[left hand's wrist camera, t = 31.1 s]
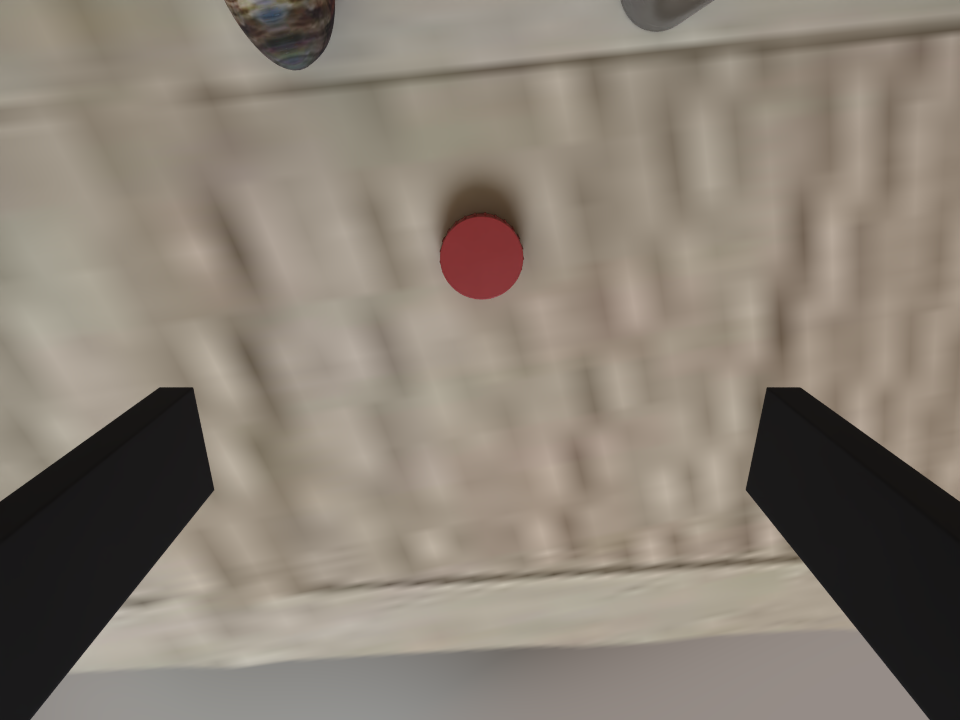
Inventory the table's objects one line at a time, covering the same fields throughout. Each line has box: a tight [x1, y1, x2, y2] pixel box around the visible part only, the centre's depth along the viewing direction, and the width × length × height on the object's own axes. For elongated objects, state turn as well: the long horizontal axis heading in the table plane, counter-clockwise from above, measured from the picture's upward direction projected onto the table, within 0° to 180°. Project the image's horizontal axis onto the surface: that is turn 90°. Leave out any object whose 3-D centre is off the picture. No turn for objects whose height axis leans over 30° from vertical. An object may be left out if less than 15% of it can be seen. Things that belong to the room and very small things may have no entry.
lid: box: [440, 212, 524, 299], centre depth 36 cm, size 6×6×2 cm
